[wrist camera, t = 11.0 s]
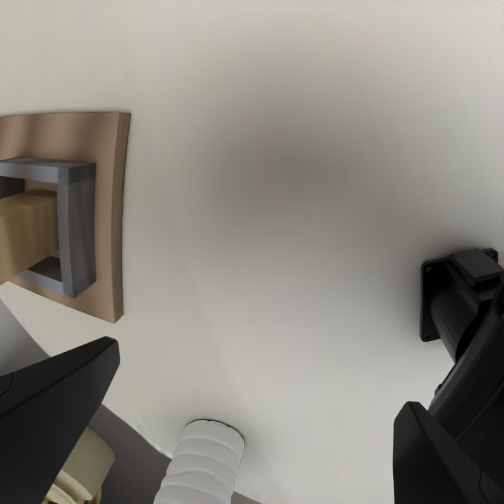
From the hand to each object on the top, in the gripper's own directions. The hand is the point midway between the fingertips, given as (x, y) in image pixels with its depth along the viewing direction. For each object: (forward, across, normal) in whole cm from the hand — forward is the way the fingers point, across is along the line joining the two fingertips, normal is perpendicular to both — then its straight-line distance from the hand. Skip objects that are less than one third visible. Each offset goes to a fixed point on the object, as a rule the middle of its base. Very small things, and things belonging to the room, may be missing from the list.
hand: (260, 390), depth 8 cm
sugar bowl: (+13, +20, +37) cm, 44 cm away
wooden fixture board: (+13, +22, +1) cm, 25 cm away
